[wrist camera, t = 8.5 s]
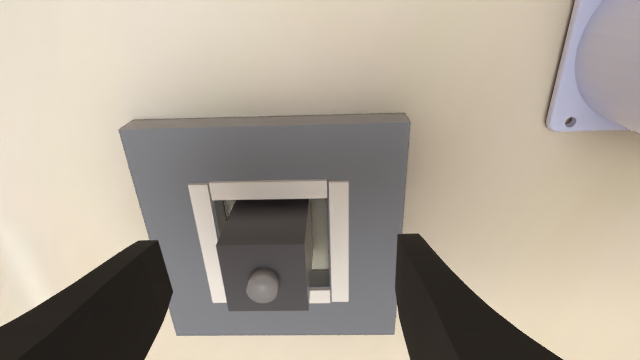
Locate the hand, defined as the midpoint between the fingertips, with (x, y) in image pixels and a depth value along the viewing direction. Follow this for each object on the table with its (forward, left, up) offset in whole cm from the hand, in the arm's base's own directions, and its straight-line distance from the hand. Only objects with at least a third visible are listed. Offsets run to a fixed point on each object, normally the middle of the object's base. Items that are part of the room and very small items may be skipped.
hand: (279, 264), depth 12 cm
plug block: (+2, +5, -10) cm, 11 cm away
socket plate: (+2, +5, -10) cm, 11 cm away
